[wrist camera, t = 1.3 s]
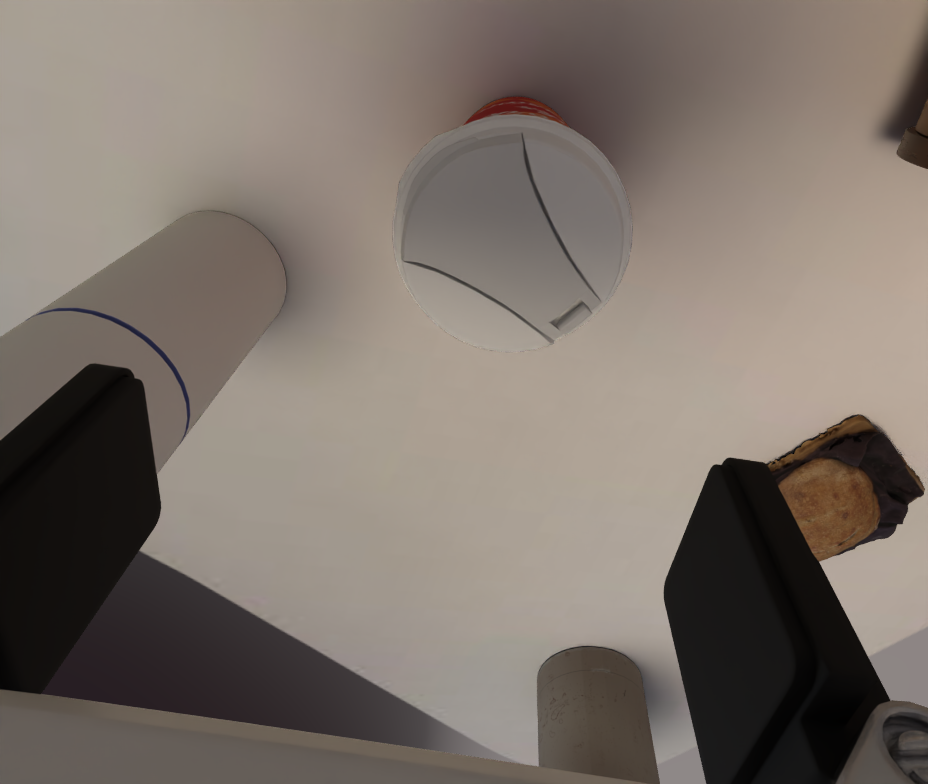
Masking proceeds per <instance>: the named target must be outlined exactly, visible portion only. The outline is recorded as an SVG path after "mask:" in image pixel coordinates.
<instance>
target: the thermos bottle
mask: <svg viewBox="0 0 928 784" xmlns="http://www.w3.org/2000/svg"><path fill="white" fill-rule="evenodd" d="M537 709H538V750H539V767H544V768H551V769H557V770H564V771H570V772H577V773H583V774H590V775H596V776H603V777H609V778H616V779H622V780H629V781H635V782H641V783H647V784H660V781H659V776H658V770H657V764H656V758H655V752H654V746H653V741H652V735H651V729H650V723H649V718H648V712H647V706H646V700H645V695H644V689H643V683H642V678H641V674H640V672H639V670H638V668H637V667H636V665H635V664H634V663H633V662H632V661H631V660H630V659H628V658H627V657H625V656H624V655H622V654H620V653H617V652H615V651H612V650H608V649H604V648H597V647H580V648H574V649H569V650H566V651H563V652H560V653H558V654H556V655H554V656H553V657H551V658H550V659H549V660H547V661H546V662H545V663H544V665H543V666H542V667H541V669H540V671H539V673H538V678H537Z"/></svg>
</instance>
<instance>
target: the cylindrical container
mask: <svg viewBox="0 0 928 784" xmlns="http://www.w3.org/2000/svg"><path fill="white" fill-rule="evenodd" d="M285 296H286V276H285V271H284V267H283V264H282V262H281V260H280V257H279V255H278V253H277V252H276V250H275V249H274V247H273V246H272V244H271V243H270V242H269V240H268V239H267V238H266V237H265V236H264V235H263V234H262V233H261V232H260V231H259V230H257V229H256V228H255V227H253V226H252V225H251V224H249V223H247V222H246V221H244V220H242V219H240V218H238V217H236V216H233V215H230V214H227V213H222V212H216V211H199V212H195V213H191V214H188V215H186V216H184V217H182V218H180V219H178V220H176V221H175V222H173V223H172V224H170V225H169V226H167V227H166V228H164V229H163V230H161V231H160V232H158V233H157V234H155V235H154V236H152V237H151V238H149V239H148V240H146V241H145V242H143V243H142V244H140V245H139V246H137V247H136V248H134V249H133V250H131V251H130V252H128V253H127V254H125V255H124V256H122V257H121V258H119V259H118V260H116V261H115V262H113V263H112V264H110V265H109V266H107V267H106V268H104V269H102V270H101V271H99V272H98V273H96V274H95V275H93V276H92V277H90V278H89V279H87V280H86V281H84V282H83V283H81V284H80V285H78V286H77V287H75V288H74V289H72V290H71V291H69V292H68V293H66V294H65V295H63V296H62V297H60V298H59V299H57V300H56V301H54V302H53V303H51V304H50V305H48V306H47V307H45V308H44V309H42V310H40V311H39V312H37V313H36V314H34V315H33V316H31V317H30V318H28V319H27V320H26V321H24V322H23V323H21V324H19V325H18V326H16V327H15V328H13V329H12V330H10V331H9V332H7V333H6V334H4V335H3V336H1V337H0V440H1V439H2V438H4V437H5V436H6V435H7V434H8V433H9V432H11V431H12V430H13V429H14V428H15V427H16V426H17V425H19V424H20V423H21V422H22V421H23V420H24V419H26V418H27V417H28V416H29V415H30V414H31V413H32V412H34V411H35V410H36V409H37V408H38V407H39V406H41V405H42V404H43V403H44V402H45V401H46V400H47V399H49V398H50V397H51V396H52V395H53V394H54V393H56V392H57V391H58V390H59V389H60V388H61V387H62V386H64V385H65V384H66V383H67V382H68V381H69V380H71V379H72V378H73V377H74V376H75V375H76V374H77V373H79V372H80V371H81V370H82V369H83V368H84V367H85V366H87V365H89V364H93V363H96V364H103V365H109V366H116V367H123V368H128V369H130V370H131V371H132V373H133V374H134V377H135V378H137V379H140V380H141V381H142V382H143V385H144V389H145V396H146V403H147V410H148V417H149V424H150V431H151V438H152V445H153V452H154V459H155V466H156V473H157V474H158V472H159V471H160V470H161V468H162V467H163V466H164V464H165V463H166V462H167V460H168V459H169V458H170V456H171V455H172V454H173V453H174V451H175V450H176V449H177V447H178V446H179V445H180V443H181V442H182V441H183V439H184V438H185V437H186V435H187V434H188V433H189V431H190V430H191V429H192V427H193V426H194V425H195V423H196V422H197V421H198V419H199V418H200V417H201V415H202V414H203V413H204V411H205V410H206V409H207V407H208V406H209V405H210V403H211V402H212V401H213V399H214V398H215V397H216V395H217V394H218V393H219V392H220V390H221V389H222V388H223V386H224V385H225V384H226V382H227V381H228V380H229V378H230V377H231V376H232V374H233V373H234V372H235V370H236V369H237V368H238V366H239V365H240V364H241V362H242V361H243V360H244V358H245V357H246V356H247V354H248V353H249V352H250V350H251V349H252V348H253V346H254V345H255V344H256V343H257V341H258V340H259V339H260V337H261V336H262V335H263V333H264V332H265V331H266V329H267V328H268V327H269V325H270V324H271V323H272V321H273V320H274V319H275V317H276V316H277V315H278V313H279V312H280V310H281V308H282V306H283V304H284V300H285Z"/></svg>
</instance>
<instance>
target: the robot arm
mask: <svg viewBox="0 0 928 784" xmlns="http://www.w3.org/2000/svg"><path fill="white" fill-rule="evenodd" d="M160 511H161V501H160V494H159V487H158V480H157V473H156V466H155V459H154V452H153V445H152V438H151V431H150V424H149V417H148V410H147V403H146V396H145V389H144V385H143V382H142V381H141V380H140V379H137V378H135V377H134V374H133V373H132V371H131V370H130V369H128V368H123V367H116V366H109V365H103V364H96V363H93V364H89V365H87V366H85V367H84V368H83V369H82V370H81V371H80V372H79V373H77V374H76V375H75V376H74V377H73V378H72V379H71V380H69V381H68V382H67V383H66V384H65V385H64V386H62V387H61V388H60V389H59V390H58V391H57V392H56V393H54V394H53V395H52V396H51V397H50V398H49V399H47V400H46V401H45V402H44V403H43V404H42V405H41V406H39V407H38V408H37V409H36V410H35V411H34V412H32V413H31V414H30V415H29V416H28V417H27V418H26V419H24V420H23V421H22V422H21V423H20V424H19V425H17V426H16V427H15V428H14V429H13V430H12V431H11V432H9V433H8V434H7V435H6V436H5V437H4V438H2V439H1V440H0V784H647V783H641V782H635V781H629V780H622V779H616V778H609V777H603V776H596V775H590V774H583V773H577V772H570V771H564V770H557V769H551V768H544V767H537V766H531V765H524V764H518V763H511V762H505V761H498V760H492V759H484V758H479V757H471V756H465V755H459V754H452V753H445V752H439V751H432V750H425V749H418V748H411V747H405V746H398V745H391V744H385V743H377V742H371V741H365V740H358V739H351V738H344V737H337V736H330V735H324V734H317V733H310V732H303V731H296V730H290V729H282V728H275V727H269V726H262V725H255V724H248V723H241V722H235V721H228V720H221V719H214V718H206V717H199V716H193V715H185V714H178V713H171V712H164V711H157V710H150V709H143V708H136V707H129V706H121V705H115V704H108V703H101V702H94V701H87V700H79V699H73V698H72V699H71V698H65V697H58V696H50V695H42V694H41V693H42V692H43V690H44V689H45V687H46V686H47V685H48V683H49V682H50V680H51V679H52V677H53V676H54V674H55V672H56V671H57V670H58V668H59V667H60V666H61V664H62V663H63V661H64V659H65V658H66V657H67V655H68V654H69V652H70V651H71V649H72V648H73V646H74V645H75V643H76V642H77V641H78V639H79V638H80V636H81V635H82V633H83V632H84V630H85V629H86V627H87V626H88V624H89V623H90V621H91V620H92V619H93V617H94V615H95V614H96V613H97V611H98V610H99V608H100V607H101V605H102V604H103V602H104V601H105V599H106V598H107V597H108V595H109V594H110V592H111V591H112V589H113V588H114V586H115V585H116V583H117V582H118V580H119V579H120V577H121V576H122V575H123V573H124V572H125V570H126V569H127V567H128V566H129V564H130V563H131V561H132V560H133V558H134V557H135V555H136V554H137V553H138V551H139V550H140V548H141V547H142V545H143V544H144V542H145V541H146V539H147V538H148V536H149V535H150V533H151V532H152V531H153V529H154V528H155V526H156V524H157V522H158V519H159V516H160ZM664 602H665V606H666V611H667V615H668V619H669V624H670V628H671V632H672V637H673V641H674V645H675V650H676V654H677V658H678V663H679V667H680V671H681V676H682V680H683V684H684V689H685V693H686V697H687V702H688V706H689V710H690V715H691V719H692V723H693V728H694V732H695V736H696V741H697V745H698V749H699V754H700V758H701V762H702V767H703V771H704V775H705V780H706V784H928V708H927V707H924V706H921V705H918V704H915V703H911V702H905V701H893V700H892V701H890V699H889V697H888V695H887V693H886V691H885V689H884V687H883V685H882V683H881V681H880V679H879V677H878V676H877V674H876V672H875V670H874V668H873V666H872V664H871V662H870V660H869V658H868V656H867V654H866V652H865V650H864V648H863V646H862V644H861V642H860V641H859V639H858V637H857V635H856V633H855V631H854V629H853V627H852V625H851V623H850V621H849V619H848V617H847V615H846V613H845V611H844V610H843V608H842V606H841V604H840V602H839V600H838V598H837V596H836V594H835V592H834V590H833V588H832V586H831V584H830V582H829V580H828V579H827V577H826V575H825V573H824V571H823V569H822V567H821V565H820V563H819V561H818V560H817V558H816V557H815V556H814V554H813V553H812V551H811V549H810V547H809V545H808V543H807V541H806V539H805V537H804V535H803V533H802V532H801V530H800V528H799V526H798V524H797V522H796V520H795V518H794V516H793V514H792V512H791V510H790V508H789V506H788V504H787V502H786V500H785V498H784V496H783V494H782V493H781V491H780V489H779V487H778V485H777V483H776V481H775V479H774V477H773V475H772V473H771V471H770V469H769V467H768V466H767V465H766V464H765V463H763V462H756V461H750V460H743V459H736V458H727V459H726V460H725V461H724V462H723V463H722V465H713V466H712V467H711V469H710V471H709V473H708V476H707V478H706V481H705V483H704V486H703V488H702V491H701V493H700V496H699V498H698V501H697V503H696V506H695V508H694V510H693V513H692V515H691V518H690V520H689V523H688V525H687V528H686V530H685V533H684V535H683V538H682V540H681V543H680V545H679V548H678V550H677V553H676V555H675V558H674V560H673V562H672V565H671V567H670V570H669V572H668V575H667V577H666V580H665V585H664Z"/></svg>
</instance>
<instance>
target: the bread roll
mask: <svg viewBox="0 0 928 784" xmlns="http://www.w3.org/2000/svg"><path fill="white" fill-rule="evenodd" d="M827 430H828V432H827V433H825V434H822V435H821V434H820V433H819V434H820V435H821V436H819V437H818V438H816V439H815V440H813V441H806V442H804V443H803V444H802V446H801V447H800V448H797V449H796V451H795V453H794V454H790V455H788V456H786V457H785V458H782V459H781V460H780V461H778V462H777V459H776V460H775V462H776V464H773V465H772V463H773V462H774V461H773V462H772V463H770V464H769V465H767V466H768V467H769V469H770V471H771V473H772V475H773V477H774V479H775V481H776V483H777V485H778V487H779V489H780V491H781V493H782V494H783V496H784V498H785V500H786V502H787V504H788V506H789V508H790V510H791V512H792V514H793V516H794V518H795V520H796V522H797V524H798V526H799V528H800V530H801V532H802V533H803V535H804V537H805V539H806V541H807V543H808V545H809V547H810V549H811V551H812V553H813V554H814V556H815V557H816V558H817V560H818V561H822V560H825V559H828V558H830V557H832V556H836V555H840V554H842V553H844V552H847V551H850V550H853V549H855V548H856V547H857V546H858V545H861V544H865V543H868V542H870V541H875V540H877V539H885V538H888V537H890V536H891V535H892V534H893V533H894V532H895V530H896V526H897V524H903V520H904V518H905V516H906V514H907V512H908V504H909V503H911V502H912V501H914V500H915V499H917V498H918V497H921V496H922V495H923V494H924V490H925V488H924V486H923V485H922V483H921V481H920V478H919V477H918V476H916V474H915V473H914V471H913V470H911V468H910V467H909V466H908V465H907V463H906V462H905V460H904V459H903V457H902V455H899V454H898V452H897V451H896V450H895V448H894V446H893V445H892V443H891V442H890V440H889V439H888V438H887V437H885V436H884V435H883V434H882V433H880V432H878V431H877V430H876V429H875V428H874V427H873V426H872V424H871V423H870V421H869V420H867V419H866V418H865V417H864V416H860V415H859V414H858V416H857V417H853V418H851V419H847V420H846V421H844V422H843V423H842V424H841V425H837V426H834V427H832V428H830V429H827Z"/></svg>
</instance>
